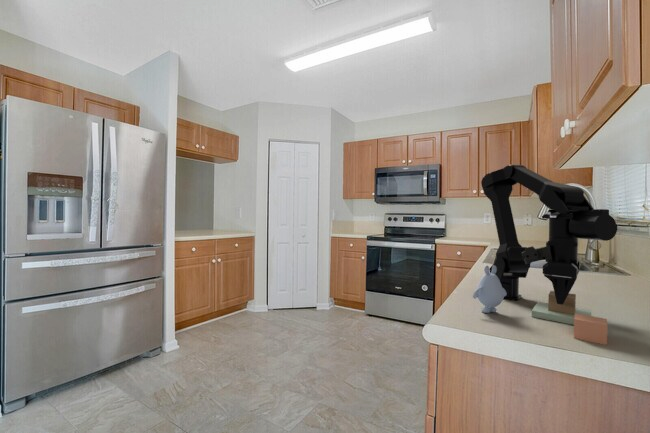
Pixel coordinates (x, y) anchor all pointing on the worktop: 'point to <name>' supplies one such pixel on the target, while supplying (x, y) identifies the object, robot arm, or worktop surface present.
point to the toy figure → (490, 291)
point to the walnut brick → (567, 306)
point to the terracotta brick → (590, 328)
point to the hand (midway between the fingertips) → (561, 300)
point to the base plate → (556, 313)
